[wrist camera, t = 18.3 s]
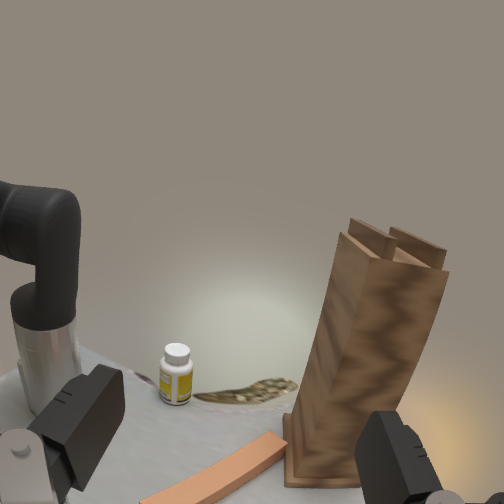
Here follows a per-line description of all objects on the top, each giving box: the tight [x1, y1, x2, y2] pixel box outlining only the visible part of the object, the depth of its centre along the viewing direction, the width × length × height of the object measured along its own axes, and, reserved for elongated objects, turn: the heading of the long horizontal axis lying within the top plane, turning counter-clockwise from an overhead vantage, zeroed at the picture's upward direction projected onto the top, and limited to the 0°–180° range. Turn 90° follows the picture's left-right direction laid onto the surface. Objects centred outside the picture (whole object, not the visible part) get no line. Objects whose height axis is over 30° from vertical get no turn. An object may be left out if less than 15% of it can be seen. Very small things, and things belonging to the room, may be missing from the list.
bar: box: [139, 431, 288, 504], centre depth 32 cm, size 4×22×4 cm, turn 137°
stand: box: [283, 218, 449, 488], centre depth 36 cm, size 11×15×34 cm
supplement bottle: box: [160, 343, 193, 405], centre depth 48 cm, size 5×5×10 cm
